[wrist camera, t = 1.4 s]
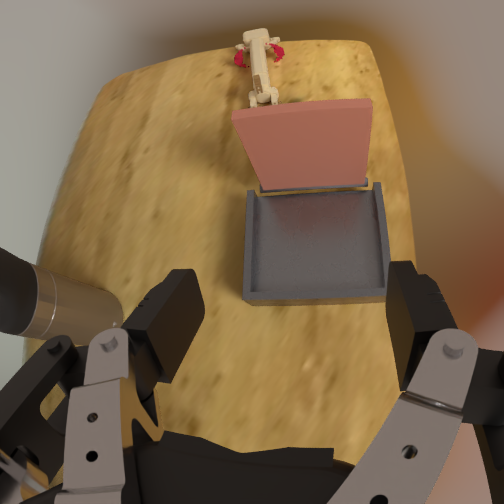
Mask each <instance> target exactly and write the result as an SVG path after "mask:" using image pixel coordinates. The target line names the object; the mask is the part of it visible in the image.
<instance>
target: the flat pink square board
mask: <svg viewBox="0 0 504 504" xmlns="http://www.w3.org/2000/svg"><path fill="white" fill-rule="evenodd" d="M372 111H373V107H372V103H371V99H339V100H322V101H309V102H297V103H287V104H278V105H270V106H262V107H255V108H248V109H241V110H235V111H232V118H231V120H232V122H233V124H234V127H235V129H236V131H237V133H238V135H239V137H240V139H241V142H242V144H243V146H244V148H245V150H246V152H247V155H248V157H249V159H250V161H251V163H252V166H253V168H254V170H255V172H256V175H257V177H258V179H259V181H260V183H261V184H260V192H261V193H268V192H281V191H294V190H309V189H326V188H345V187H368V179H367V177H365V176H366V168H367V160H368V152H369V143H370V133H371V123H372Z"/></svg>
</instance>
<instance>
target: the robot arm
mask: <svg viewBox="0 0 504 504" xmlns="http://www.w3.org/2000/svg"><path fill="white" fill-rule="evenodd" d="M204 314H205V306H204V301H203V298H202V294H201V291H200V287H199V284H198V280H197V276H196V273H195V271H194V270H193V269H173V270H172V271H171V272H170V273H169V274H168V275H167V277H166V278H165V279H164V280H163V282H161V283H159V284H158V285H156V286H155V287H154V288H152V289H151V290H150V291H149V292H148V293H147V294H146V296H145V297H144V300H142V301H141V302H140V303H139V304H138V307H136V308H135V309H134V311H133V312H132V313H131V315H130V316H129V317H128V318H127V320H126V321H125V322H124V323H123V312H122V308H121V305H120V303H119V301H118V299H117V298H116V297H115V296H114V295H113V294H112V293H109V292H107V291H104V290H101V289H98V288H95V287H93V286H90V285H87V284H84V283H81V282H79V281H76V280H73V279H70V278H68V277H65V276H62V275H60V274H57V273H54V272H52V271H49V270H46V269H44V268H41V267H39V266H36V265H33V264H31V263H29V262H27V261H24V260H22V259H20V258H18V257H16V256H14V255H13V254H11V253H9V252H8V251H6V250H4V249H2V248H0V332H3V333H7V334H12V335H17V336H23V337H28V338H35V339H41V340H47V341H46V342H45V343H44V344H43V345H42V346H41V347H40V348H39V349H38V350H37V351H36V352H35V353H34V354H33V356H32V357H31V358H30V359H29V360H28V361H27V362H26V363H25V364H24V365H23V366H22V367H21V368H20V370H19V371H18V372H17V373H16V374H15V375H14V376H13V377H12V378H11V380H10V381H9V382H8V383H7V384H6V385H5V386H4V387H3V389H2V390H1V391H0V504H425V502H426V500H427V498H428V497H429V495H430V493H431V491H432V489H433V487H434V485H435V483H436V481H437V479H438V477H439V474H440V473H441V470H442V468H443V466H444V463H445V462H446V459H447V457H448V455H449V452H450V450H451V448H452V445H453V443H454V440H455V438H456V435H457V432H458V430H459V427H460V424H461V422H462V423H470V424H473V427H474V430H475V433H476V437H477V440H478V444H479V447H480V451H481V455H482V458H483V462H484V466H485V471H486V475H487V479H488V484H489V489H490V493H491V499H492V504H504V352H502V351H493V350H486V349H481V348H478V345H477V343H476V341H475V340H474V338H473V337H472V336H471V335H469V334H468V333H466V332H464V331H462V330H459V329H458V328H457V326H456V323H455V321H454V319H453V316H452V315H451V312H450V310H449V308H448V306H447V304H446V302H445V300H444V297H443V295H442V294H441V292H440V289H439V287H438V285H437V283H436V282H435V281H434V280H433V279H431V278H430V277H429V276H428V275H426V274H422V275H418V273H417V271H416V269H415V267H414V265H413V263H412V261H410V260H409V261H390V263H389V268H388V281H387V293H386V318H387V323H388V327H389V332H390V337H391V342H392V347H393V352H394V358H395V363H396V369H397V375H398V381H399V387H400V391H405V392H402V393H401V395H400V396H399V398H398V400H397V401H396V403H395V405H394V407H393V408H392V410H391V412H390V414H389V415H388V417H387V419H386V420H385V422H384V424H383V425H382V427H381V429H380V430H379V432H378V433H377V435H376V437H375V438H374V440H373V441H372V443H371V444H370V446H369V447H368V449H367V450H366V452H365V453H364V455H363V456H362V458H361V459H360V461H359V462H358V463H357V465H356V466H355V465H353V464H350V463H347V462H344V461H340V460H336V459H333V454H334V448H296V447H287V448H280V449H273V450H266V451H258V452H249V453H239V452H236V451H233V450H230V449H228V448H225V447H223V446H220V445H218V444H215V443H213V442H210V441H208V440H206V439H203V438H201V437H195V436H189V435H184V434H179V433H174V432H170V431H164V429H163V423H162V417H161V411H160V404H159V398H158V392H157V390H156V388H155V385H156V384H157V382H163V383H170V384H171V382H172V380H173V378H174V376H175V374H176V372H177V370H178V368H179V366H180V364H181V362H182V360H183V358H184V356H185V354H186V353H187V351H188V349H189V347H190V345H191V343H192V341H193V339H194V337H195V335H196V333H197V331H198V329H199V327H200V325H201V323H202V321H203V319H204ZM122 324H123V325H122ZM74 344H76V345H83V346H79V347H75V345H74ZM56 383H57V384H58V385H59V387H60V388H61V389H62V391H63V392H64V393H65V395H66V396H65V398H64V399H63V400H62V401H61V403H60V404H59V405H58V407H57V408H56V409H55V411H54V412H53V413H52V414H51V416H50V417H49V418H48V420H47V421H46V420H45V419H44V417H43V416H42V415H41V413H40V404H41V402H42V401H43V399H44V398H45V397H46V396H47V394H48V393H49V392H50V391H51V389H52V388H53V387H54V386H55V385H56ZM63 463H64V472H63V483H61V484H59V485H57V486H55V487H53V488H51V489H50V488H49V487H48V486H49V484H50V483H51V481H52V480H53V478H54V477H55V475H56V474H57V472H58V471H59V469H60V468H61V466H62V465H63Z"/></svg>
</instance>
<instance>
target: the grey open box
mask: <svg viewBox="0 0 504 504" xmlns="http://www.w3.org/2000/svg"><path fill="white" fill-rule="evenodd" d="M390 261H391V258H390V248H389V239H388V231H387V223H386V215H385V208H384V201H383V195H382V189H381V183H380V182H373V188H372V190H364V191H341V192H322V193H306V194H291V195H277V196H264V197H257V195H256V193H255V191H254V190H247V204H246V226H245V249H244V272H243V296H242V300H244V301H245V302H247V303H249V304H250V305H252V306H302V305H336V304H361V303H380V302H386V293H387V281H388V268H389V263H390Z"/></svg>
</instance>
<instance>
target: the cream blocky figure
mask: <svg viewBox="0 0 504 504" xmlns="http://www.w3.org/2000/svg"><path fill="white" fill-rule="evenodd" d="M243 40H244V43H245V45H244V44H240V45H236V49H237V50H239V51H238V53H237V54H236V55H235V57H234V59H235V60H234V62H235V64H237V65H239V66H240V67H242V66H243V67H245V68H246V65H245V64H242V63H243V55H242V51H245V53H247V52H250V58H251V68H252V77H253V86H254V91H249V92H250V94H248V97H249V101H250V107H248V108H255V107H261V106H260V105H258V106H257V102H261V103H265V102H270V100H271V102H272V103H269V106H270V105H278V104H282V103H281V102H278V100H277V99H278V98H279V94H278V90H277V89H275V87H270V80H269V74H268V67H267V61H266V53H265V50H268V49H269V48H270V47H273V48H274V53H276V54H277V56H279V57H278V58H276V60H277V62H278V60H280V59H282V57H283V55H284V50H283V48H281V47H279V46H278V45H276V43H278V42H280V39H279V37H274V38H271V41H270V38H269V34H268V31H267V29H264V28H261V29H257V30H251V31H246V32H245V33H244V34H243ZM274 44H275V45H274ZM245 46H246V47H245ZM274 62H275V61H274ZM248 67H249V66H248Z"/></svg>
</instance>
